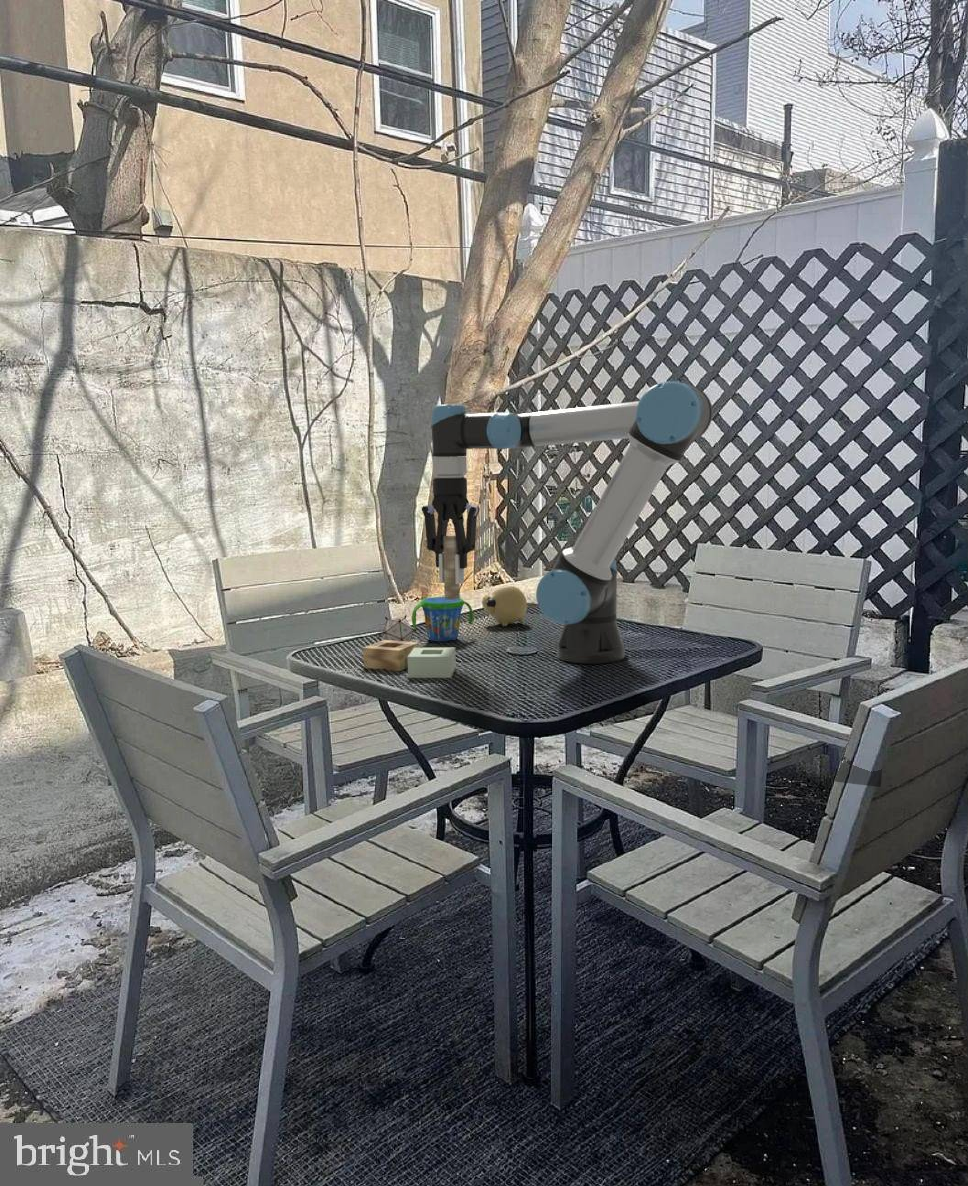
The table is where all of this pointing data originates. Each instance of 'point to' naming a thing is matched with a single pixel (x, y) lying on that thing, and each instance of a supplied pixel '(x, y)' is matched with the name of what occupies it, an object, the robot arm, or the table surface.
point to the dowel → (450, 568)
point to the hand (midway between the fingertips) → (451, 582)
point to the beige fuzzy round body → (506, 605)
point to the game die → (397, 630)
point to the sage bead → (431, 663)
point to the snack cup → (442, 617)
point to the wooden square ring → (388, 654)
